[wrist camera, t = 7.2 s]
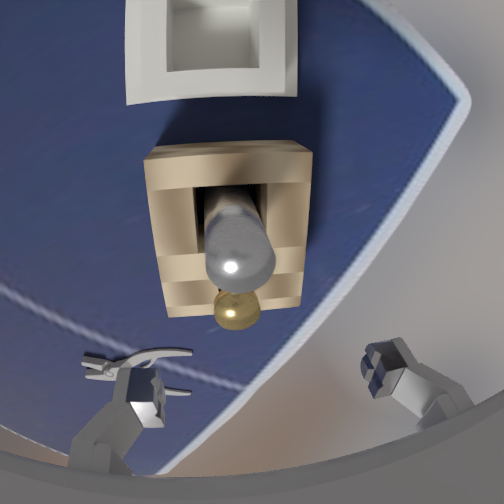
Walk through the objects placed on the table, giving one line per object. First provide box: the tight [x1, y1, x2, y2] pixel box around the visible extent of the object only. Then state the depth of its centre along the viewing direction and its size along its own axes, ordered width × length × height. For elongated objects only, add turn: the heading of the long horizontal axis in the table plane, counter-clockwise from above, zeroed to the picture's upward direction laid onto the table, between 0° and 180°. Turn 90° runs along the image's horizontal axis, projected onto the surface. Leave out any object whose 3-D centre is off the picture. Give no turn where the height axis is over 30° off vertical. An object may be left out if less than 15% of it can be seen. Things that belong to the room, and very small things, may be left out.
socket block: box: [144, 140, 313, 317], centre depth 27 cm, size 12×14×6 cm
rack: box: [125, 0, 298, 105], centre depth 18 cm, size 14×10×6 cm
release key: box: [214, 290, 261, 330], centre depth 27 cm, size 4×4×8 cm
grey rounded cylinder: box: [204, 184, 276, 294], centre depth 23 cm, size 4×4×12 cm
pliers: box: [82, 348, 192, 395], centre depth 37 cm, size 10×2×15 cm
